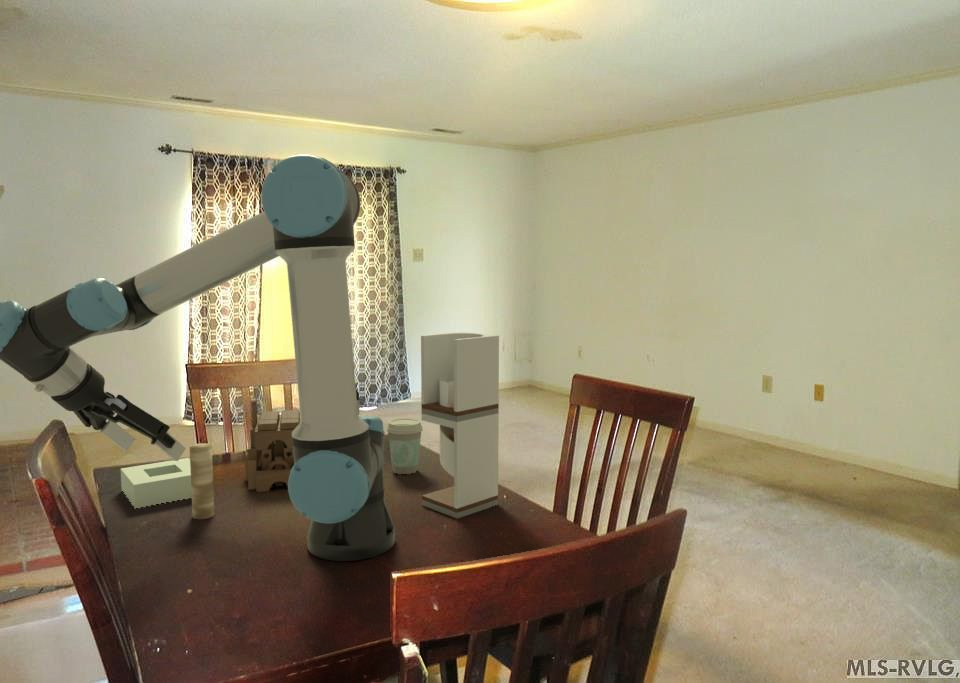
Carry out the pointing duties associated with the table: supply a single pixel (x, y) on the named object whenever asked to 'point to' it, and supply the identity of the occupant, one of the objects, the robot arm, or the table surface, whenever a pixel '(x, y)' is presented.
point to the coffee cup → (404, 444)
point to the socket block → (157, 482)
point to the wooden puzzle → (270, 448)
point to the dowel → (202, 481)
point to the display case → (463, 417)
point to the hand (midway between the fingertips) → (154, 449)
